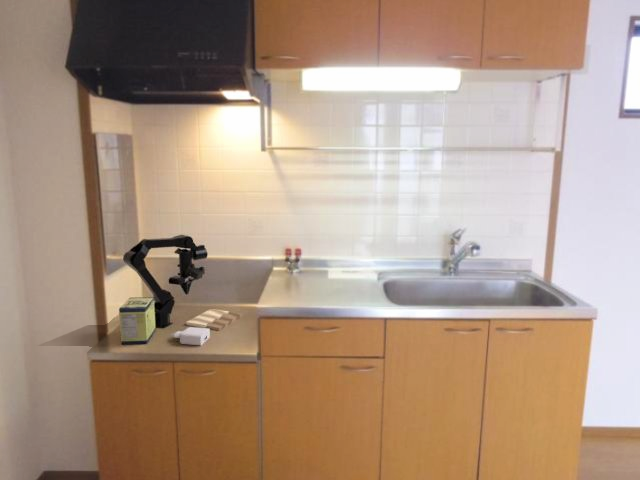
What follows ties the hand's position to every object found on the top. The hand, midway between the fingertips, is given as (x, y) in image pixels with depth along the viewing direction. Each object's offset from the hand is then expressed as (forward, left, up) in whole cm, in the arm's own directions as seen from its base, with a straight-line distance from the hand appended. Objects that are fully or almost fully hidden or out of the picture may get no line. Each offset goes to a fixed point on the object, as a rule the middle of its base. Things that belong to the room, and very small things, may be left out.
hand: (186, 294), depth 219 cm
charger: (-22, -16, -12) cm, 30 cm away
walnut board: (+2, -19, -12) cm, 23 cm away
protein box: (-27, +5, -12) cm, 30 cm away
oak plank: (+2, -10, -12) cm, 16 cm away
